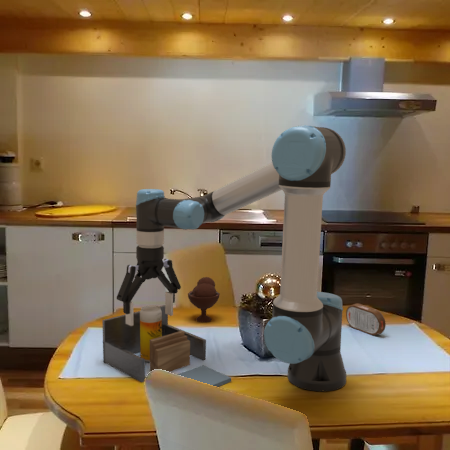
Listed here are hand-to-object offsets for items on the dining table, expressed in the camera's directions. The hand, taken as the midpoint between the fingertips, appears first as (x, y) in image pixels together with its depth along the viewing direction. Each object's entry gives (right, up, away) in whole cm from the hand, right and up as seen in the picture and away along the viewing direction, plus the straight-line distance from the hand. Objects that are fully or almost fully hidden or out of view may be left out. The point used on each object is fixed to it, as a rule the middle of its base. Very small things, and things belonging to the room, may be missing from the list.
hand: (149, 319), depth 152 cm
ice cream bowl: (+14, -7, +36) cm, 39 cm away
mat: (+15, -14, -13) cm, 24 cm away
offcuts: (+6, -13, -5) cm, 15 cm away
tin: (+67, -9, +27) cm, 73 cm away
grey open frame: (+1, -12, 0) cm, 12 cm away
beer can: (0, -12, +1) cm, 12 cm away
